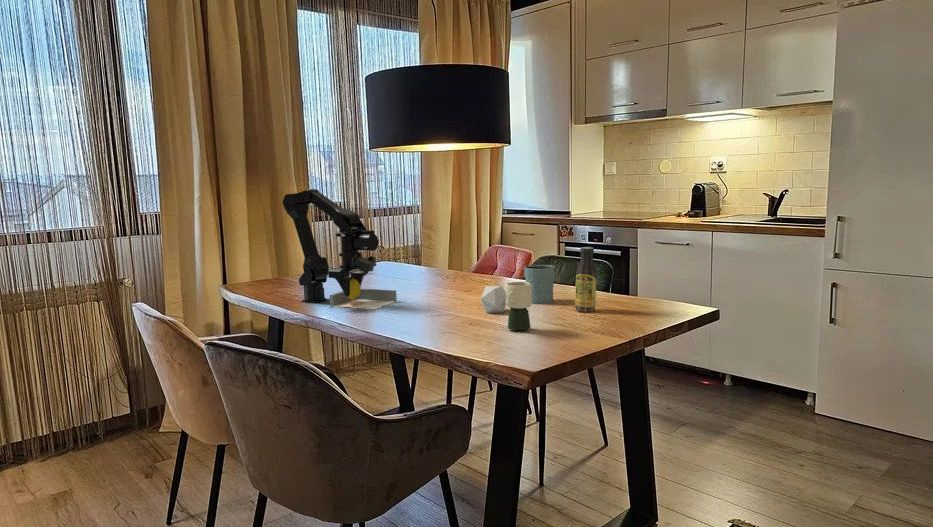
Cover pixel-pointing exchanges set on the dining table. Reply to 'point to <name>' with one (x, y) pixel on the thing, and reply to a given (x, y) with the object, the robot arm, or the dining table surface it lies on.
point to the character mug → (518, 304)
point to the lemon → (354, 289)
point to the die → (494, 299)
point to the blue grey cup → (540, 283)
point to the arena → (364, 299)
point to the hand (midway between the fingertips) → (352, 294)
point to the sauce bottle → (585, 282)
